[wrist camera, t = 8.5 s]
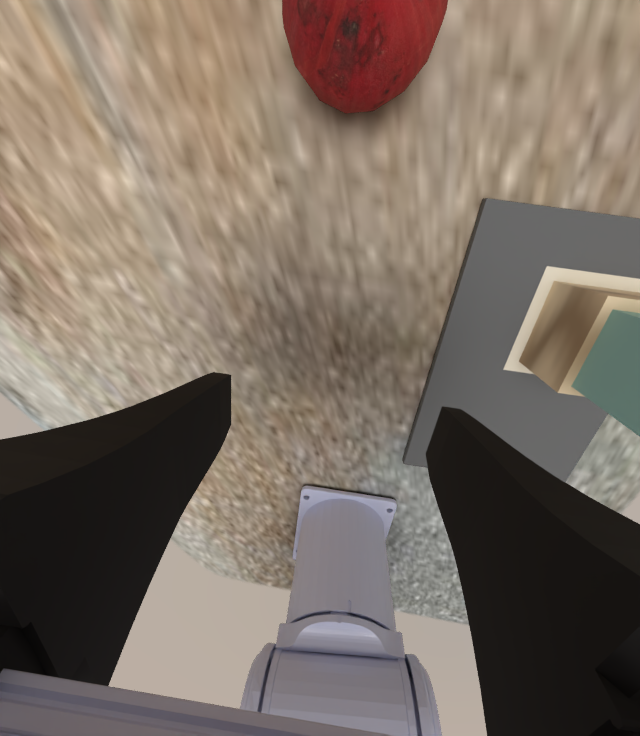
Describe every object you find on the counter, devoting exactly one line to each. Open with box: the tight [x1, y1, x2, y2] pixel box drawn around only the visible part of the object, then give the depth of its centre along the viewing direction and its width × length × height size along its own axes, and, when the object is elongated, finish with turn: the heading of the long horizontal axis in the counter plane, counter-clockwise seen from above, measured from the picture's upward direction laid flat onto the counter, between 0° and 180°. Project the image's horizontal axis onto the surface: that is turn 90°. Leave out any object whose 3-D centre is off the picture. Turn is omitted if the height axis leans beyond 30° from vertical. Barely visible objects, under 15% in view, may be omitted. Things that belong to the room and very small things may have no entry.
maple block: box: [519, 281, 640, 397], centre depth 17 cm, size 5×5×4 cm
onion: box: [282, 0, 448, 113], centre depth 11 cm, size 6×6×8 cm
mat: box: [403, 198, 640, 482], centre depth 20 cm, size 18×12×1 cm, turn 173°
